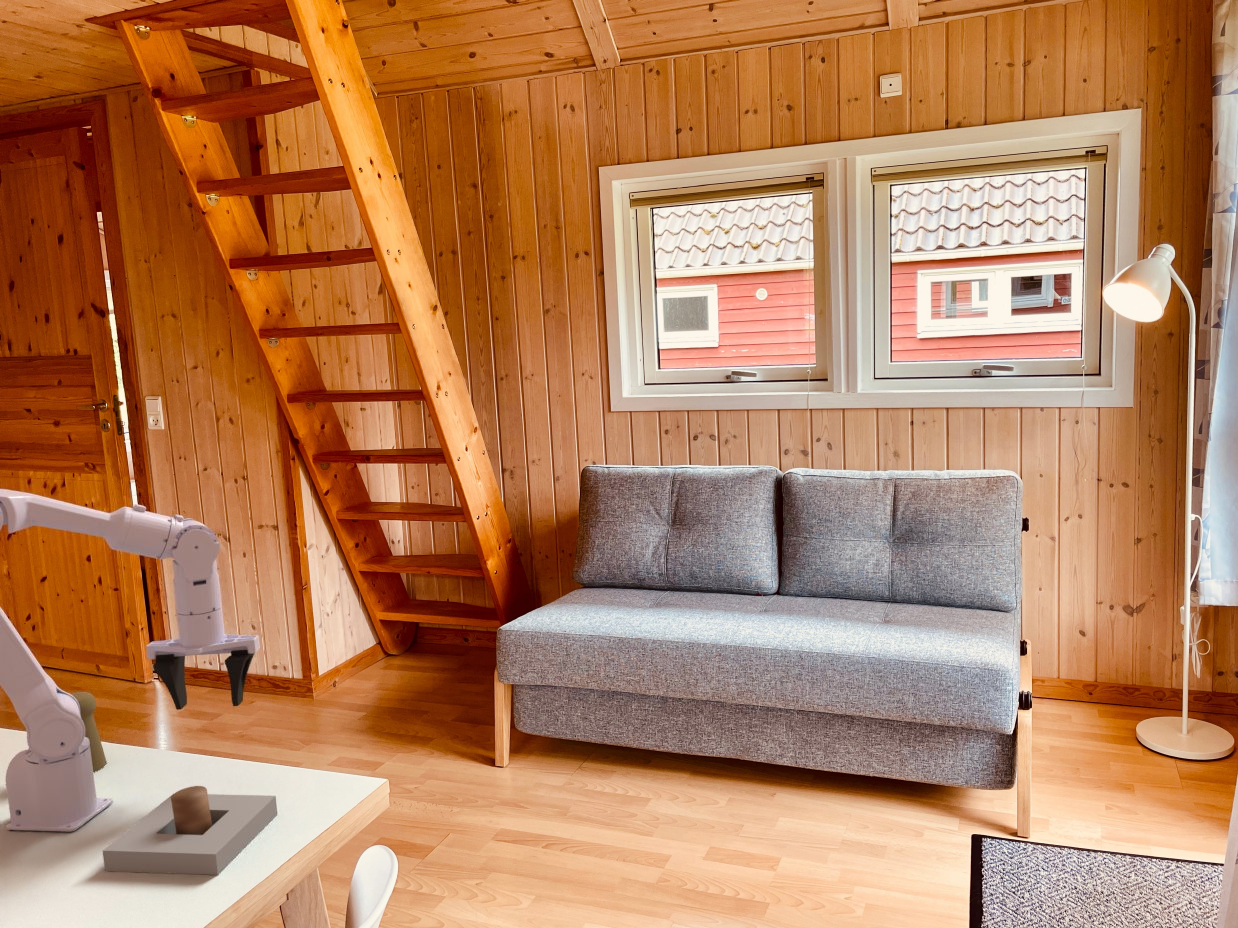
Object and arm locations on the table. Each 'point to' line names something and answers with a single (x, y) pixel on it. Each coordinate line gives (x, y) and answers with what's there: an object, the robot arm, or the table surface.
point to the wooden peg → (191, 811)
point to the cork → (91, 728)
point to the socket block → (191, 837)
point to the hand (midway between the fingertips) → (209, 705)
